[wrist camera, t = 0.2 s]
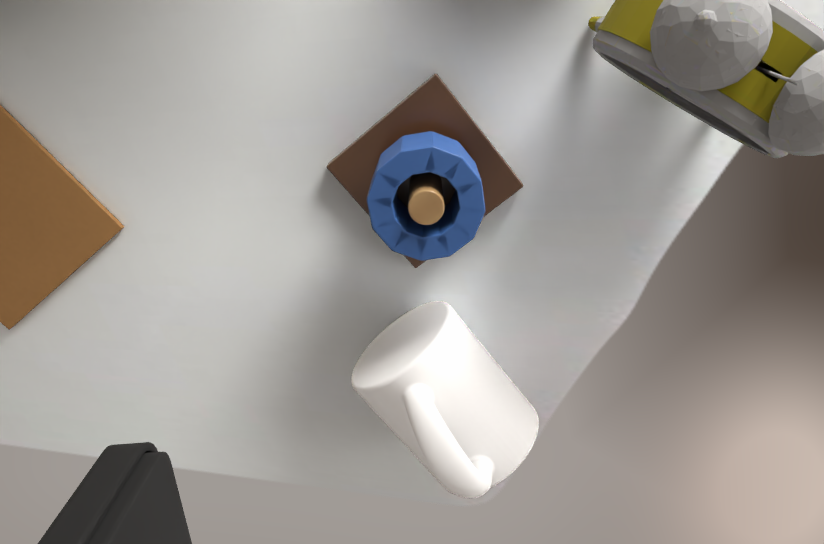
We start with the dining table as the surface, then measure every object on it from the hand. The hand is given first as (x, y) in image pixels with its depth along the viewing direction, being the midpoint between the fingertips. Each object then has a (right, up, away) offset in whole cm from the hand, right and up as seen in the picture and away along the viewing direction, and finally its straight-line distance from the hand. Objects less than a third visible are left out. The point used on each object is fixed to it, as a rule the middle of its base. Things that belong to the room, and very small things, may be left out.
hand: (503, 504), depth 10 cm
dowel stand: (0, +10, +36) cm, 37 cm away
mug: (+1, -4, +41) cm, 41 cm away
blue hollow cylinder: (0, +9, +33) cm, 34 cm away
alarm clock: (+15, +18, +33) cm, 40 cm away
